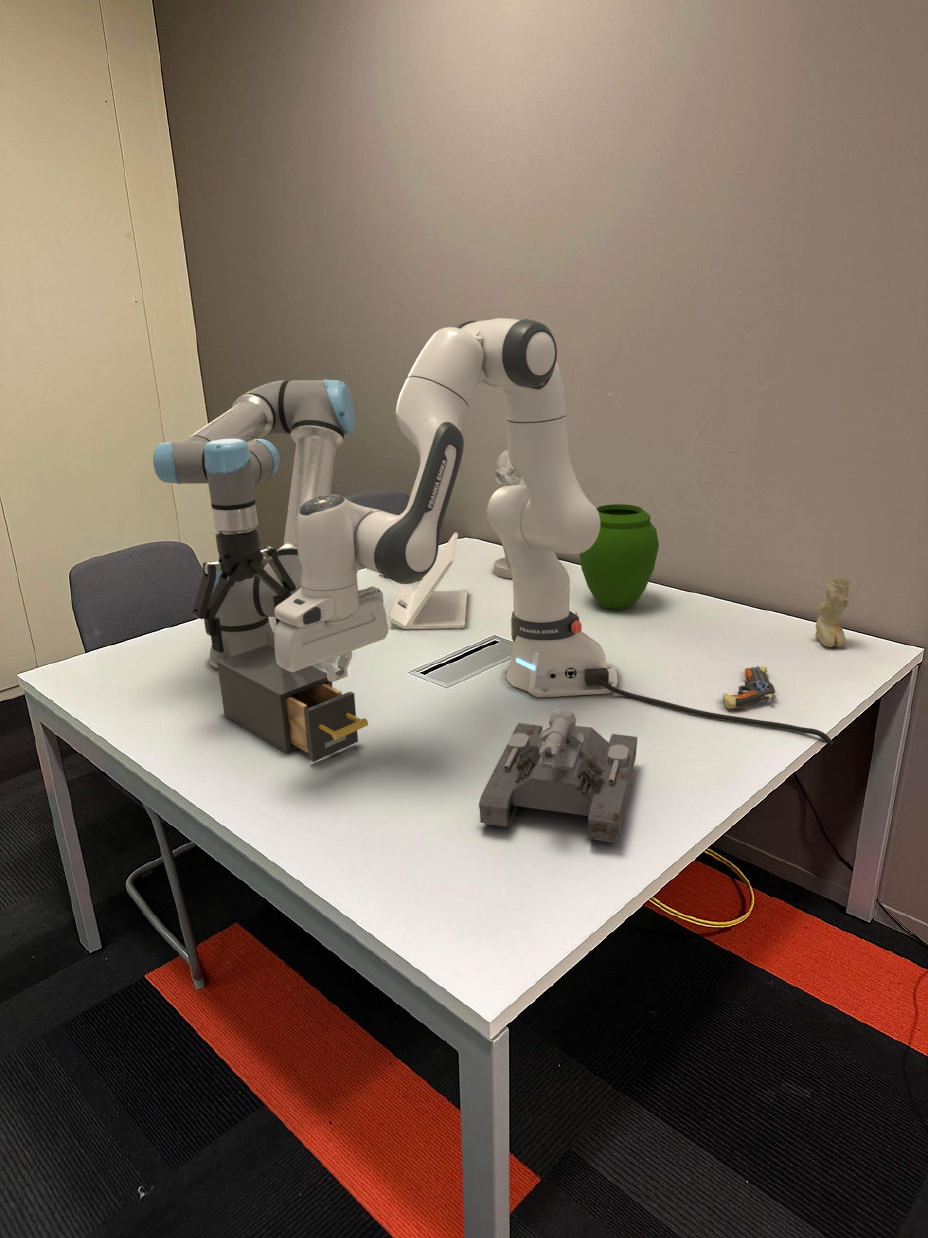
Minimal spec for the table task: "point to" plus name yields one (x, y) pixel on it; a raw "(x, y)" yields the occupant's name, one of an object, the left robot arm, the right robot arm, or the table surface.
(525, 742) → the toy
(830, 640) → the sculpture
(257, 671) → the cabinet
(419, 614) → the tablet stand
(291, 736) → the drawer
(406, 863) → the table surface
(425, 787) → the table surface
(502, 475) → the bust sculpture
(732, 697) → the toy gun
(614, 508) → the vase
